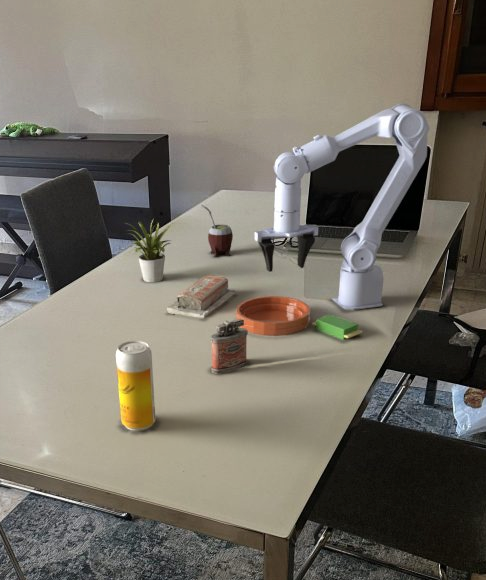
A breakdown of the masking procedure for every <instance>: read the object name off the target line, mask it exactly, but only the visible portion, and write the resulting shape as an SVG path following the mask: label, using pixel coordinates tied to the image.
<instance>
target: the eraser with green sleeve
mask: <svg viewBox="0 0 486 580" xmlns="http://www.w3.org/2000/svg"><path fill="white" fill-rule="evenodd" d="M315 320H316V321H313V322H312V323H311V325H312V326H314V327H315V330H317V331H320V332H323V333H325V334H327V335H329V336H330V335H331V336H332V337H335V338H338V339H340V340H343V341H344V340H346V339H350V338H353V337H355V336H358V335H361V334H363V331H362V330H361V329H359V324H357V323H355V322H353V321H349V320H347V319H344V318H341V317H339V316H336V315H333V314H332V313H331V314H327V315H325V316H322V317H320V318H317V319H315Z"/></svg>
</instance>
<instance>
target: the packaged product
mask: <svg viewBox="0 0 486 580" xmlns="http://www.w3.org/2000/svg"><path fill="white" fill-rule="evenodd" d="M228 288H229V279H228V278H226V277H224V276H220V275H219V276H218V275H210V274H208V275H205V276H203V277H202V278H201V279H199V280H198V281H196V282H195V283H193V284H191V286H189V287H188V288H186V289H185V290H183V291H182V292H180V293H179V294H178V295H177V296H176V301H174V302H173V303H172V304H170V305H168V306H167V307H166V308H167V314H171V315H172V314H173V315H176V314H177V315H182V316H183V315H184V316H189V317H193V318H194V317H195V318H201V319H202V318H203V319H204V318H206V317H207V316H209V314H211V313H212V312H213V311H215V310H216V309H218V307H219V306H221V305H223V304H224V303H225V302H227V300H228V299H230V298H231V297H232V296H234V295H235V294H236V293H237V291H236V289H235V290H234V289H228Z"/></svg>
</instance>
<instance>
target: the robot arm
mask: <svg viewBox="0 0 486 580" xmlns="http://www.w3.org/2000/svg"><path fill="white" fill-rule="evenodd" d="M430 130H431V129H430V126H429V123H428V120H427V118H426V115H425V113H423V112H422V111H421V110H419V109H417V108H413V107H412V105H411V106H410V104H407V103H398V104H396V105H394V106H392V107H391V108H385V109H383V110H381V111H379V112H377V113H375V114H374V115H372V116H370V117H367V118H366V119H365V120H363V121H361V122H359V123H357V124H355V125H354V126H351V127H349V128H348V129H345V130H344V131H342V132H340V133H339V134H337V135H334V136H329V135H327V134H323V135H320V134H317V135H315V136H313V140H312V141H310V142H308V143H305V144H303V145H301V146H299V147H298V146H294V147H292V151H293V152H292V151H285V152H283V153H281V154H280V155H279V156H278V157H277V158H276V159H275V162H274V164H273V171H274V173H275V174H276V177H275V188H274V208H273V209H274V210H273V211H274V213H273V227H272V228H271V227H270V228H267V229H262V230H256V231H254V241H255V242H256V243H258V245H259V247H260V250H261V252H262V254H263V258H264V262H265V269H266V270H267V271H268V272H269V273H271V272H273V270H274V269H273V268H274V253H275V252H274V251H275V246H276V245H275V244H274V243H273V240H281V239H289V238H296V239H297V266H298V267H299V268H300V269H304V268H305V263H306V261H307V258H308V255H309V253H310V251H311V249H312V247H313V245H314V244H315V242H316V237H315V236H319V226H318V225H316V224H307V225H306V224H305V225H304V224H302V225H300V224H301V201H302V188H301V185H302V183H301V182H302V179H303V178H304V175H305V174H310V173H311V172H314V171H315V170H318V169H320V168H322V167H324V166H325V165H328V164H330V163H333V162H334V161H336V159H337V156H338V154H339V153H340V152H342V151H344V150H346V149H349V148H351V147H354V146H356V145H358V144H360V143H363V142H365V141H367V140H371V138H374V137H379V138H387V139H392V138H393V140H394V141H395V146H396V148H397V152H398V154H399V156H398V158H397V159H396V161H395V163H394V164H393V167H392V168H391V170H390V172H389V174H388V175H387V177H386V179H385V181H384V182H383V185H382V186H381V188H380V190H379V191H378V193H377V195H376V196H375V198H374V200H373V202H372V203H371V206H370V207H369V209H368V211H367V212H366V214H365V216H364V218H363V220H362V221H361V222H360V223H359V224H357V225H356V226H355V227H354V229H353V230H352V231H351V233H350V234H349V235H347V236H346V237H345V238H344V239H343V240H342V242H341V245H340V252H341V255H342V257H344V259H343V260H342V263H341V264H340V272H339V273H340V274H339V286H338V296H336V297H331V300H333V302H335V303H336V304H337V305H338V306H340V307H341V308H342V309H344V310H347V311H348V310H354V311H356V310H362V309H363V310H364V309H371V308H377V307H379V308H380V307H383V303H382V298H383V289H384V273H383V272H384V271H383V269H382V267H381V266H380V265H378V264H375V263H376V261H377V253H378V250H379V248H380V246H381V243H382V235H383V233H384V231H385V229H386V228H387V226H388V225H389V222H390V221H391V219H392V218H393V216H394V214H395V213H396V211H397V210H398V207H399V206H400V204H401V202H402V200H403V199H404V197H405V196H406V194H407V192H408V190H409V189H410V187H411V185H412V184H413V181H414V180H415V179H416V177H417V175H418V173H419V171H420V170H421V168H422V167H423V165H424V163H425V162H426V159H427V157H428V135H429V131H430Z"/></svg>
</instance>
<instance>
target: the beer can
mask: <svg viewBox="0 0 486 580" xmlns="http://www.w3.org/2000/svg"><path fill="white" fill-rule="evenodd" d="M152 355H153V353H152V349H151V348H150V345H149V344H148V343H147V342H145V341H141V340H130V341H125V342H122V343H120V344H119V345H118V346H117V350H116V352H115V360H116V361H115V362H116V373H117V384H118V385H117V387H118V397H119V407H120V408H119V410H120V421H121V424H122V425H123V426H124V427H125V428H126V429H128V430H130V431H134V432H140V431H145V430H148V429H150V428H151V427H152V426H153V424H154V423H155V422H156V405H155V403H156V402H155V388H154V371H153V370H154V369H153V356H152Z"/></svg>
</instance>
